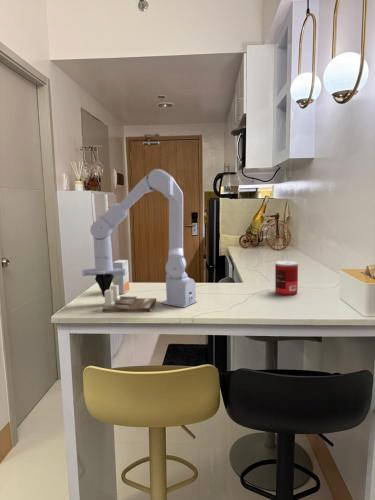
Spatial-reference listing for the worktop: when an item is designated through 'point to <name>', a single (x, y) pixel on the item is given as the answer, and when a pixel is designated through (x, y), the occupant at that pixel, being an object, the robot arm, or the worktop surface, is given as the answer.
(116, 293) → the knob back
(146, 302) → the switch board
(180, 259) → the robot arm
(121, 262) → the skincare box
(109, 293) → the knob front
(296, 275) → the canned food
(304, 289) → the worktop surface
